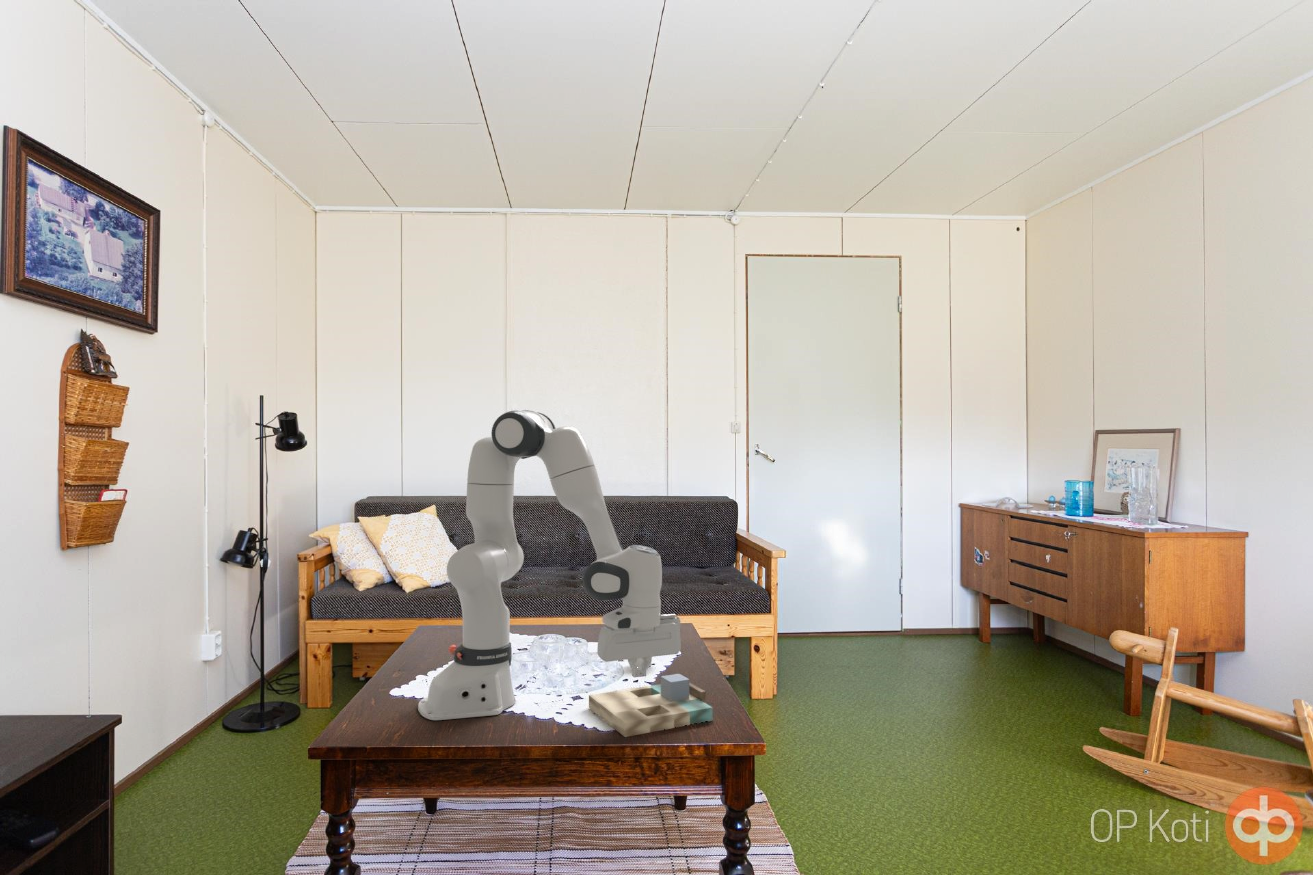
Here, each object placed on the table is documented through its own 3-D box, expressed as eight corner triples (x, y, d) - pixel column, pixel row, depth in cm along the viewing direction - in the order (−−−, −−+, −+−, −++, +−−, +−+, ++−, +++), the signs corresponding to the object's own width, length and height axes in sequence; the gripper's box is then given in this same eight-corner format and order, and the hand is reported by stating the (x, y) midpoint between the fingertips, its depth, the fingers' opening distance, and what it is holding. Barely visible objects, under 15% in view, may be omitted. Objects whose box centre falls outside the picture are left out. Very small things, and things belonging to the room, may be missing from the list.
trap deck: (624, 736, 161) (625, 713, 161) (588, 707, 179) (588, 686, 179) (716, 719, 172) (717, 697, 172) (674, 693, 190) (674, 673, 190)
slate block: (670, 701, 175) (670, 682, 175) (660, 695, 180) (660, 676, 180) (689, 698, 177) (689, 679, 177) (678, 692, 182) (679, 673, 182)
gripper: (673, 610, 182) (671, 667, 182) (595, 616, 173) (593, 676, 173) (687, 616, 177) (684, 675, 177) (607, 622, 167) (604, 685, 167)
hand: (638, 676), depth 175 cm, fingers closed
